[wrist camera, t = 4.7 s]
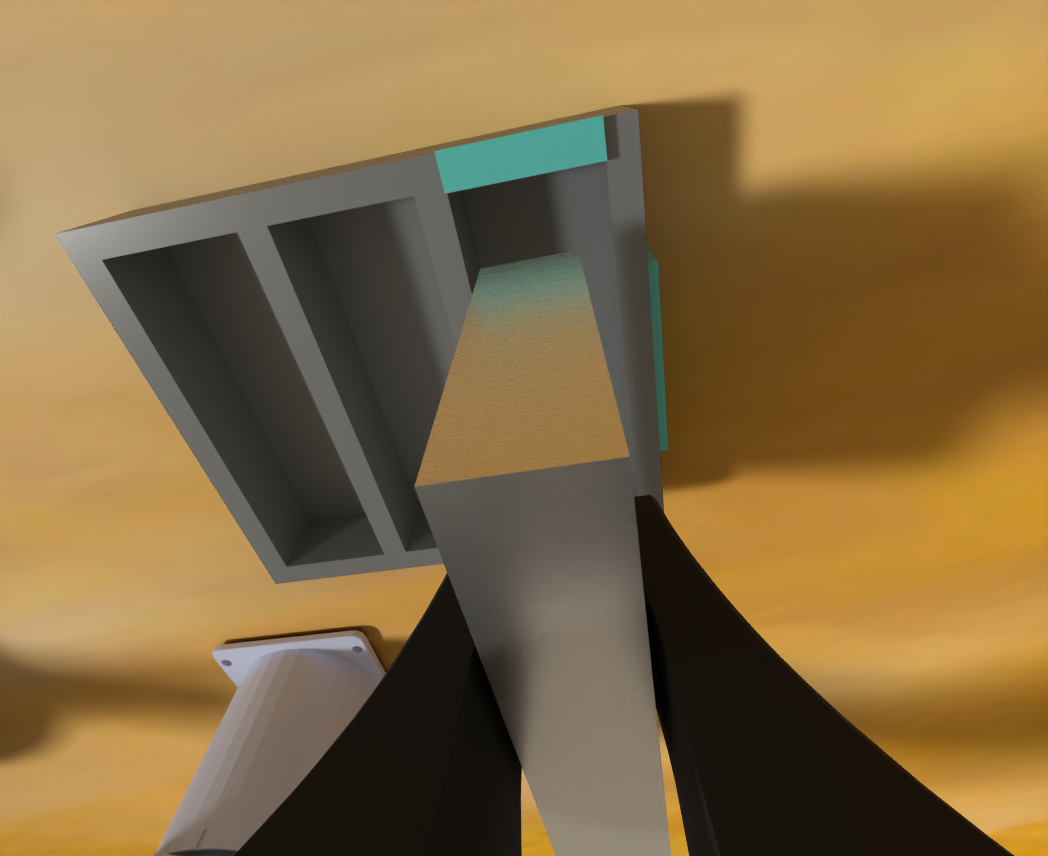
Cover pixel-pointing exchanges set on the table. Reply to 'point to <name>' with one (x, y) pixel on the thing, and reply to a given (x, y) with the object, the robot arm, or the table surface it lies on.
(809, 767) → the robot arm
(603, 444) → the long gray block
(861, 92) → the table surface
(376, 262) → the rack
